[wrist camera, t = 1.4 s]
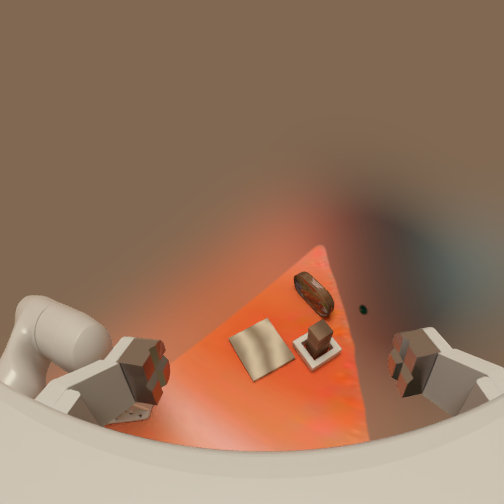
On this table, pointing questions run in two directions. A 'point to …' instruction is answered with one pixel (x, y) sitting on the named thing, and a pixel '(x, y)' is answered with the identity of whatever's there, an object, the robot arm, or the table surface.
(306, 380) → the table surface
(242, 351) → the board
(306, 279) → the tin
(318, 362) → the holder
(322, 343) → the peg
